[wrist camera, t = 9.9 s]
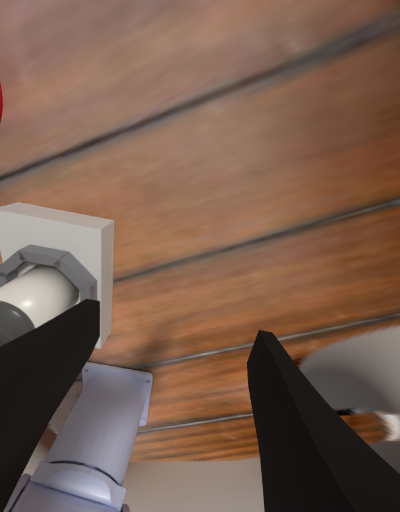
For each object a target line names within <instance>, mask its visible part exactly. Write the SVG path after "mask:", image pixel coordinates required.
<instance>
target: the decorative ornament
mask: <svg viewBox="0 0 400 512" xmlns="http://www.w3.org/2000/svg"><path fill="white" fill-rule="evenodd" d="M2 110H3V98H2V90H1V84H0V122H1V117H2Z"/></svg>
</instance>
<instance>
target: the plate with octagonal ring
mask: <svg viewBox="0 0 400 512" xmlns="http://www.w3.org/2000/svg"><path fill="white" fill-rule="evenodd" d="M0 251H1V256H2V261H3V263H2V264H1V265H0V287H2V286H3V285H5V284H7V283H8V282H10V281H12V280H13V279H15V278H17V277H18V276H20V275H21V274H23V273H25V272H26V271H28V270H30V269H31V268H33V267H35V266H36V265H39V264H44V265H50V266H55V267H57V268H58V269H59V270H60V271H61V272H62V273H63V274H64V275H65V276H66V277H67V278H68V279H69V280H70V281H71V282H72V283H73V284H74V285H75V286H76V287H77V288H78V289H79V299H78V301H77V302H76V304H78V303H80V302H81V301H83V300H85V299H92V300H97V301H100V337H99V339H98V341H97V344H96V346H95V348H100V349H101V347H102V346H103V344H104V342H105V341H106V339H107V337H108V335H109V334H110V332H111V328H112V292H113V255H114V220H109V219H104V218H99V217H94V216H88V215H83V214H78V213H73V212H67V211H62V210H57V209H52V208H46V207H41V206H36V205H31V204H25V203H20V202H18V203H14V204H10V205H6V206H2V207H0ZM76 304H75V305H76ZM75 305H74V306H75Z"/></svg>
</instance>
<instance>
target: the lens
mask: <svg viewBox="0 0 400 512" xmlns="http://www.w3.org/2000/svg"><path fill="white" fill-rule="evenodd" d="M78 299H79V289H78V288H77V287H76V286H75V285H74V284H73V283H72V282H71V281H70V280H69V279H68V278H67V277H66V276H65V275H64V274H63V273H62V272H61V271H60V270H59V269H58V268H57V267H55V266H50V265H44V264H39V265H36V266H35V267H33V268H31V269H30V270H28V271H26V272H25V273H23V274H21V275H20V276H18V277H17V278H15V279H13V280H12V281H10V282H8V283H7V284H5V285H3V286H2V287H0V346H2V345H4V344H6V343H8V342H10V341H12V340H14V339H16V338H18V337H20V336H22V335H24V334H26V333H27V332H29V331H31V330H33V329H35V328H37V327H39V326H41V325H42V324H44V323H46V322H47V321H49V320H51V319H53V318H54V317H56V316H58V315H60V314H61V313H63V312H65V311H66V310H68V309H70V308H71V307H73V306H74V305H75V304H76V302H77V301H78Z"/></svg>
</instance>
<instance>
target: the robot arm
mask: <svg viewBox="0 0 400 512" xmlns="http://www.w3.org/2000/svg"><path fill="white" fill-rule="evenodd" d="M99 337H100V301H97V300H92V299H85V300H83V301H81V302H80V303H78V304H76V305H75V306H73V307H71V308H70V309H68V310H66V311H65V312H63V313H61V314H60V315H58V316H56V317H54V318H53V319H51V320H49V321H47V322H46V323H44V324H42V325H41V326H39V327H37V328H35V329H33V330H31V331H29V332H27V333H26V334H24V335H22V336H20V337H18V338H16V339H14V340H12V341H10V342H8V343H6V344H4V345H2V346H0V512H130V510H129V506H128V505H127V504H123V500H124V496H125V493H126V488H124V487H122V485H123V481H124V477H125V474H126V470H127V466H128V463H129V459H130V456H131V452H132V448H133V445H134V441H135V438H136V434H137V430H138V427H139V425H140V426H145V425H146V423H147V417H148V410H149V402H150V395H151V388H152V381H153V375H152V374H151V373H148V372H143V371H137V370H131V369H126V368H120V367H115V366H109V365H103V364H98V363H92V362H87V361H88V359H89V358H90V356H91V354H92V352H93V350H94V348H95V346H96V344H97V341H98V339H99ZM81 370H82V380H83V391H82V392H81V394H80V396H79V398H78V400H77V402H76V403H75V405H74V407H73V409H72V411H71V412H70V414H69V416H68V418H67V420H66V421H65V423H64V425H63V427H62V429H61V430H60V432H59V434H58V436H57V438H56V440H55V441H54V443H53V445H52V447H51V449H50V450H49V452H48V454H47V456H46V458H45V460H44V461H43V462H40V463H39V465H38V467H37V469H36V471H35V472H34V475H33V476H32V478H31V475H29V474H23V475H22V473H23V471H24V469H25V467H26V465H27V463H28V461H29V459H30V457H31V455H32V453H33V451H34V449H35V448H36V446H37V444H38V442H39V440H40V438H41V436H42V434H43V433H44V431H45V429H46V427H47V425H48V423H49V421H50V420H51V418H52V416H53V415H54V413H55V411H56V409H57V408H58V406H59V405H60V403H61V402H62V400H63V399H64V397H65V395H66V394H67V392H68V391H69V389H70V388H71V386H72V385H73V383H74V381H75V380H76V378H77V377H78V375H79V374H80V372H81ZM247 372H248V387H249V393H250V399H251V405H252V411H253V416H254V422H255V428H256V433H257V439H258V445H259V452H260V461H261V472H262V483H263V496H264V510H265V512H400V474H399V473H398V472H397V471H396V470H395V469H393V468H392V467H391V466H390V465H389V464H388V463H387V462H385V460H383V459H382V458H381V457H380V456H379V455H378V454H377V453H376V452H375V451H374V450H373V449H372V448H371V447H370V446H369V445H368V444H367V443H365V442H364V441H363V440H362V439H361V438H360V437H359V436H358V435H357V434H356V433H355V432H354V431H353V430H352V429H351V428H350V427H349V426H348V425H347V424H346V423H345V422H344V420H343V419H342V418H341V417H340V416H339V415H338V414H337V413H336V412H335V411H334V410H333V409H332V408H331V407H330V406H329V404H328V403H327V402H326V401H325V400H324V399H323V398H322V397H321V395H320V394H319V393H318V392H317V391H316V389H315V388H314V387H313V386H312V385H311V383H310V382H309V381H308V380H307V378H306V377H305V376H304V375H303V373H302V372H301V371H300V369H299V368H298V367H297V365H296V364H295V363H294V361H293V360H292V359H291V357H290V356H289V355H288V353H287V352H286V351H285V349H284V348H283V346H282V345H281V344H280V342H279V341H278V340H277V338H276V337H275V335H274V334H273V333H272V332H267V331H261V330H259V331H258V334H257V337H256V340H255V342H254V345H253V348H252V350H251V353H250V356H249V359H248V361H247ZM21 475H22V476H21ZM30 478H31V479H30Z"/></svg>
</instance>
